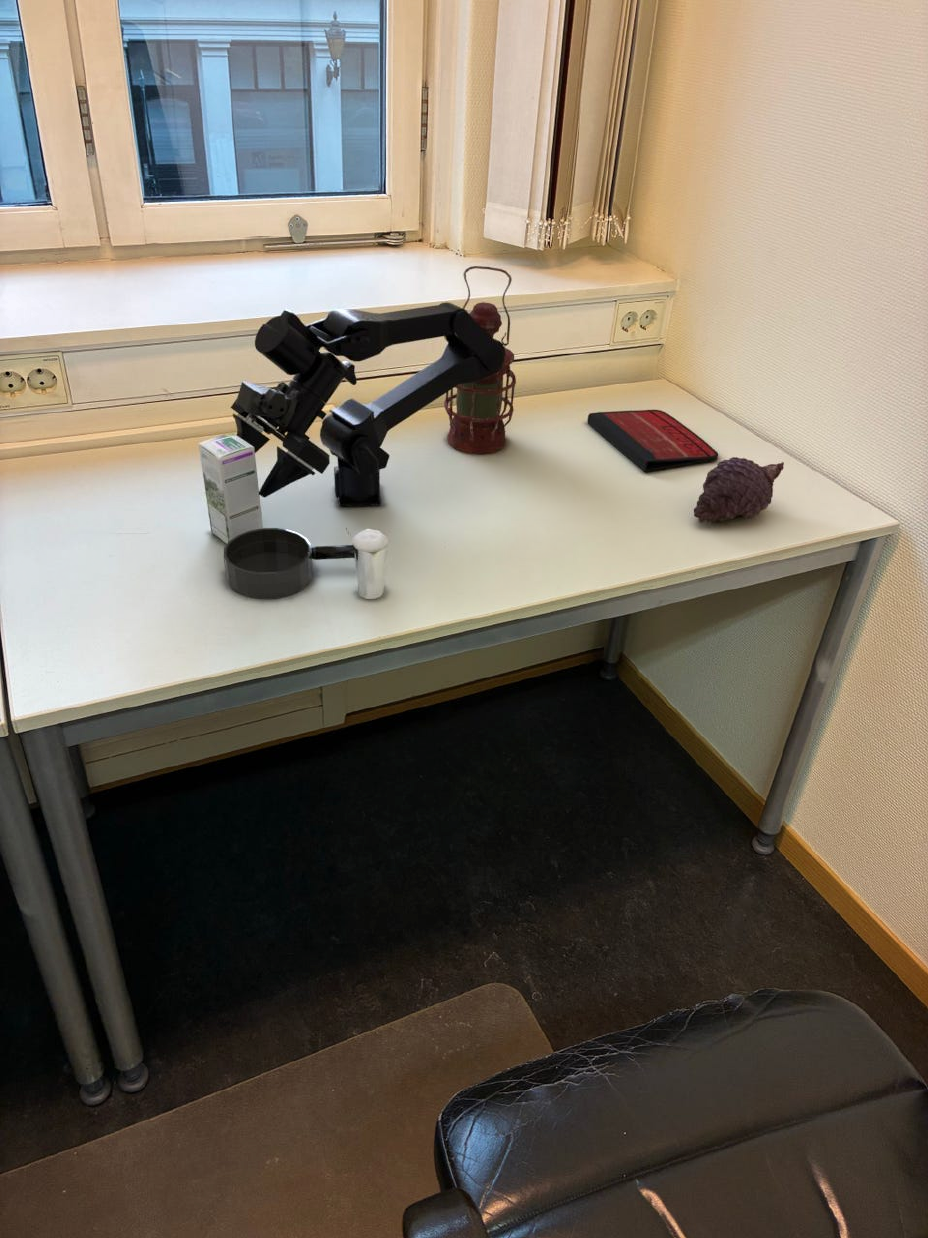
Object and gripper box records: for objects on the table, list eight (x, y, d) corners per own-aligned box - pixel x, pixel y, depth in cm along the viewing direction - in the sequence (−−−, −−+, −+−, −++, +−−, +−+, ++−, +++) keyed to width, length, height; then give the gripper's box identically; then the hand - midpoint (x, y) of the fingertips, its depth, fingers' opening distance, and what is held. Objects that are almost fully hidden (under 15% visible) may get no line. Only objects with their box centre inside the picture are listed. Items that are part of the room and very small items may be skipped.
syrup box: (265, 536, 134) (257, 444, 125) (229, 549, 130) (218, 456, 122) (244, 520, 137) (234, 430, 128) (208, 533, 134) (196, 441, 125)
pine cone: (725, 545, 138) (701, 485, 135) (685, 544, 147) (662, 487, 145) (809, 492, 143) (788, 433, 140) (766, 494, 152) (745, 438, 150)
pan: (312, 550, 131) (310, 526, 129) (314, 596, 122) (312, 571, 120) (228, 553, 129) (225, 529, 127) (224, 601, 120) (221, 575, 118)
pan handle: (382, 552, 127) (382, 541, 126) (383, 559, 126) (383, 548, 125) (309, 555, 126) (308, 544, 125) (309, 562, 124) (308, 551, 123)
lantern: (434, 450, 159) (441, 272, 141) (451, 422, 169) (458, 252, 151) (503, 460, 157) (519, 281, 140) (516, 432, 167) (532, 260, 149)
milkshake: (348, 583, 125) (346, 519, 119) (387, 583, 125) (387, 519, 120) (347, 602, 121) (345, 537, 115) (388, 602, 122) (388, 537, 116)
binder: (646, 460, 155) (587, 411, 170) (643, 473, 156) (585, 423, 172) (725, 452, 160) (661, 406, 176) (721, 464, 162) (658, 417, 177)
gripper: (236, 339, 129) (173, 431, 129) (305, 383, 117) (235, 483, 118) (289, 381, 137) (230, 467, 138) (358, 426, 126) (293, 519, 127)
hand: (245, 482), depth 130 cm, fingers open, 9 cm apart
